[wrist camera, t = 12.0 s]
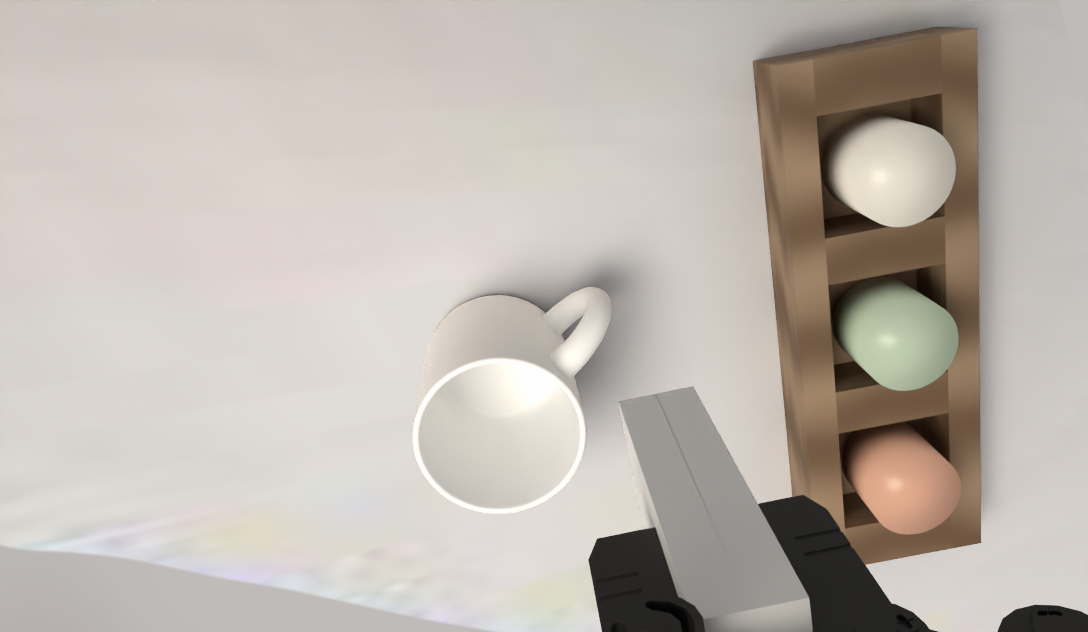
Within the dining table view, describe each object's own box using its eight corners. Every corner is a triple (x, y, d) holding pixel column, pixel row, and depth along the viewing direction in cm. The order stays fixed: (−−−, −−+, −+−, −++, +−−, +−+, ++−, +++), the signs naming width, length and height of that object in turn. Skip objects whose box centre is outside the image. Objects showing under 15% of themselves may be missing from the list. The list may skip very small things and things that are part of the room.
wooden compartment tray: (753, 61, 47) (776, 65, 43) (937, 26, 47) (977, 28, 43) (796, 535, 57) (818, 573, 53) (947, 507, 57) (980, 542, 53)
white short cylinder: (818, 123, 46) (851, 134, 42) (912, 106, 46) (955, 115, 42) (824, 215, 47) (857, 235, 43) (915, 198, 47) (956, 216, 43)
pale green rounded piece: (829, 285, 49) (861, 310, 45) (917, 268, 49) (957, 292, 45) (835, 366, 50) (866, 398, 46) (920, 350, 50) (959, 381, 46)
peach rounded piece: (839, 428, 52) (870, 464, 48) (922, 412, 52) (960, 447, 48) (844, 500, 53) (874, 541, 49) (924, 485, 53) (961, 525, 49)
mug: (548, 216, 49) (563, 268, 39) (643, 317, 51) (681, 390, 41) (396, 356, 51) (375, 438, 41) (495, 447, 53) (497, 544, 44)
